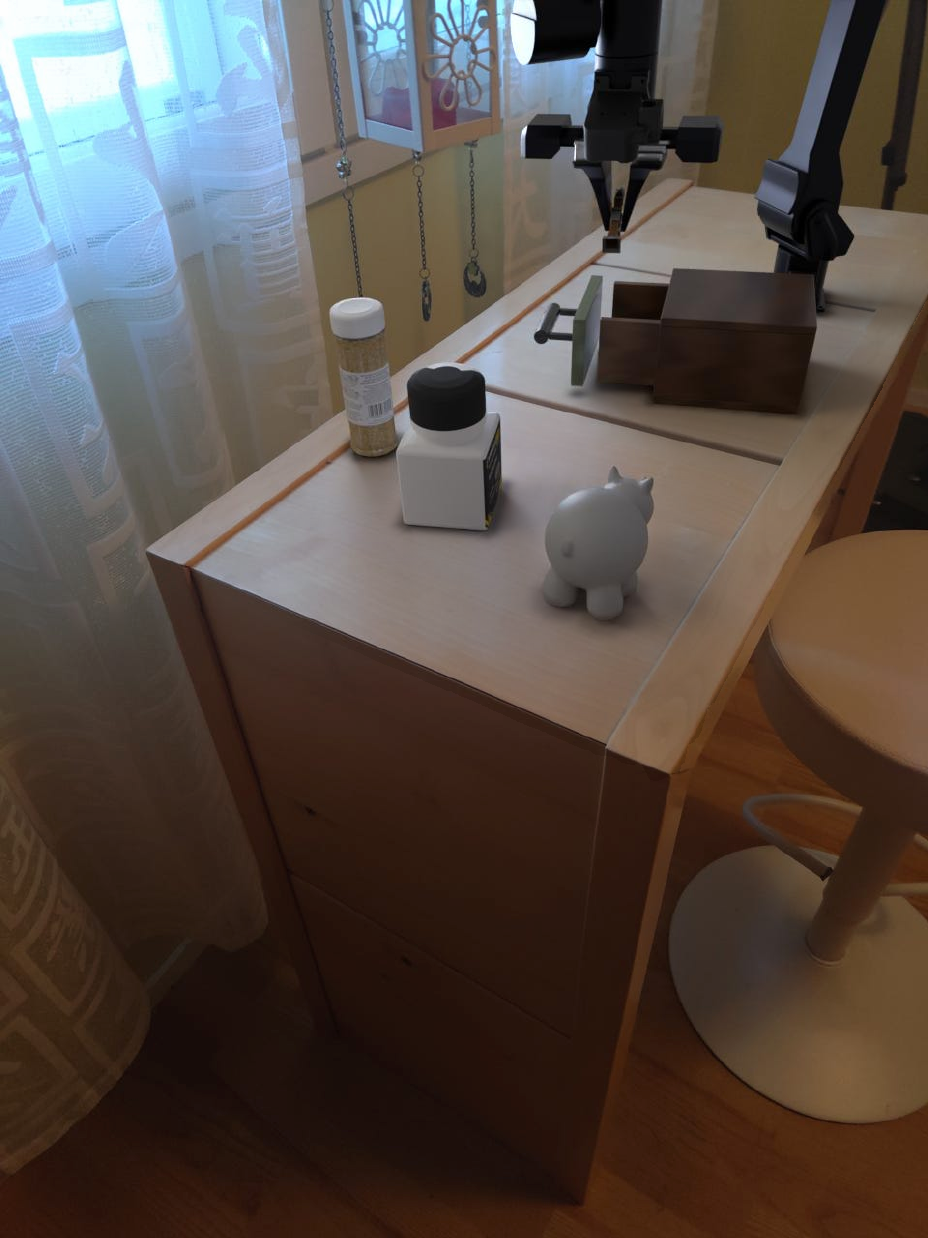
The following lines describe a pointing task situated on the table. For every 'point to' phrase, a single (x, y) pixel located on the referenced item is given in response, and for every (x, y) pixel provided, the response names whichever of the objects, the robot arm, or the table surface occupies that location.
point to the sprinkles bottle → (365, 374)
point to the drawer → (612, 331)
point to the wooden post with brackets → (614, 225)
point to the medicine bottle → (449, 450)
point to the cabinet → (735, 340)
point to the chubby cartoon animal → (598, 544)
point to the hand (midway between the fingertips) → (615, 230)
